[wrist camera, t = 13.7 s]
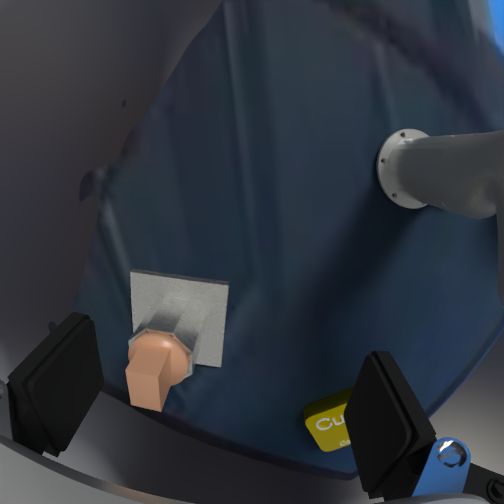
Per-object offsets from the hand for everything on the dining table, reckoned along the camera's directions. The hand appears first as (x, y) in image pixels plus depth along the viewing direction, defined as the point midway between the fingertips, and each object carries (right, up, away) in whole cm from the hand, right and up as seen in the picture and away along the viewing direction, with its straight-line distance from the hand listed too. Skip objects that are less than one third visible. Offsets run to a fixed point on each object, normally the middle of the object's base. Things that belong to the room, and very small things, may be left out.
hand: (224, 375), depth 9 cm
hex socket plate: (-12, -7, +40) cm, 43 cm away
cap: (-12, -10, +32) cm, 36 cm away
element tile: (+21, -31, +47) cm, 60 cm away
